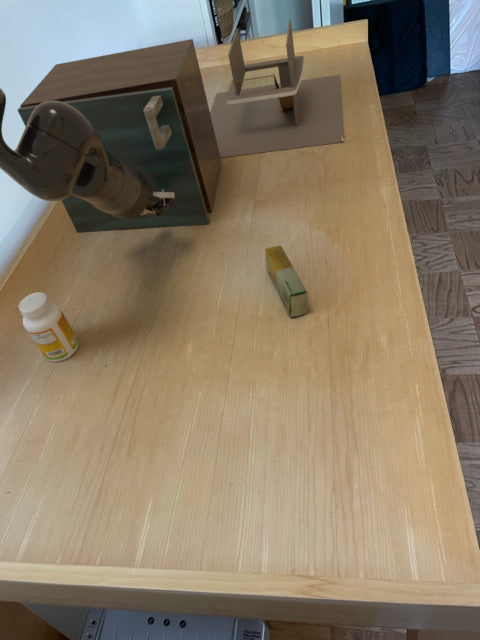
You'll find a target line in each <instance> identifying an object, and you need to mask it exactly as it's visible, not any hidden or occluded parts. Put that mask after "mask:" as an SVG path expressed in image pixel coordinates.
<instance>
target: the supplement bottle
mask: <svg viewBox="0 0 480 640" xmlns="http://www.w3.org/2000/svg"><path fill="white" fill-rule="evenodd" d="M18 311H19V312H20V313H21V315H22V325H23V327H24V329H25V330H26V332H27V333H28V335H29V336H30V337H31V339H32V341H33V342H34V344H35V345H36V346H37V348H38V349H39V351H40V352H41V354H42V356H43V357H44V358H45V359H46V360H47V361H49V362H54V363H55V362H56V363H57V362H62V361H64V360H67V359H68V358H71V356H72V355H74V354H75V353H76V351H77V349H78V348H79V344H80V342H79V338H78V336H77V334H76V333H75V331H74V329H73V328H72V326H71V324H70V322H69V321H68V320H67V317H66V315H65V314H64V312H63V311H62V309H61V308H60V306H59V305H58V304H57V303H54V302H52V301H50V299H49V297H48V296H47V294H46V293H44V292H42V291H37V292H32V293H30V294H28V295H26V296H24V298H22V299H21V300H20V302H19V303H18Z"/></svg>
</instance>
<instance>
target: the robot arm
mask: <svg viewBox="0 0 480 640" xmlns="http://www.w3.org/2000/svg"><path fill="white" fill-rule="evenodd" d="M6 96H7V95H6V93H5V91H4V90H3V89H2V88H1V87H0V170H1V171H3V172H4V173H5V174H6V175H7V176H9V178H11V179H12V180H13V181H14V182H15V183H16V184H18V185H19V186H20V187H21V188H22V189H24V190H25V191H27V192H28V193H29V194H30V195H32V196H34V197H35V198H38V199H40V200H44V201H46V202H47V201H48V202H59V201H62V200H64V199H66V198H67V197H68V196H69V195H70V194H72V195H74V196H76V197H78V198H80V199H82V200H84V201H86V202H88V203H90V204H91V205H92V206H94V207H95V208H97V209H99V210H101V213H108V214H110V215H113V216H115V217H117V218H120V219H131V218H134V217H136V216H138V215H139V214H140V215H145V214H146V215H148V216H150V217H152V218H153V217H160V216H161V214H162V212H163V211H165V210H167V209H168V208H170V207H171V206H173V205H174V204H175V192H174V188H173V187H169V188H166V189H165V190H164V189H163V190H162V192H159V190H158V189H157V188H155V187H151V186H150V185H149V183H148V181H147V180H146V178H145V177H144V176H143V175H142V174H141V173H139V172H138V171H137V170H135V169H134V168H133V167H131V166H130V165H128V164H127V163H126V162H124V161H123V160H121V159H119V158H117V157H114V156H113V155H111V154H110V153H108V152H107V151H106V149H105V147H104V145H103V143H102V141H101V139H100V137H99V135H98V133H97V131H96V130H95V128H94V126H93V125H92V124H91V123H90V121H89V120H88V119H87V118H86V117H85V116H84V115H83V114H82V113H81V112H80V111H78V110H77V109H75V108H74V107H72V106H70V105H68V104H66V103H64V102H60V101H46V102H43V103H41V104H39V105H38V106H37V107H36V108H35V109H34V110H33V112H32V114H31V116H30V118H29V120H28V123H27V125H28V126H26V127H25V126H24V130H23V131H22V134H21V136H20V139H19V141H18V143H17V146H16V148H15V149H12V148H11V147H10V145H8V144H7V142H6V141H5V139H4V136H3V122H4V121H3V120H4V116H5V111H6V105H7V97H6Z"/></svg>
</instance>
